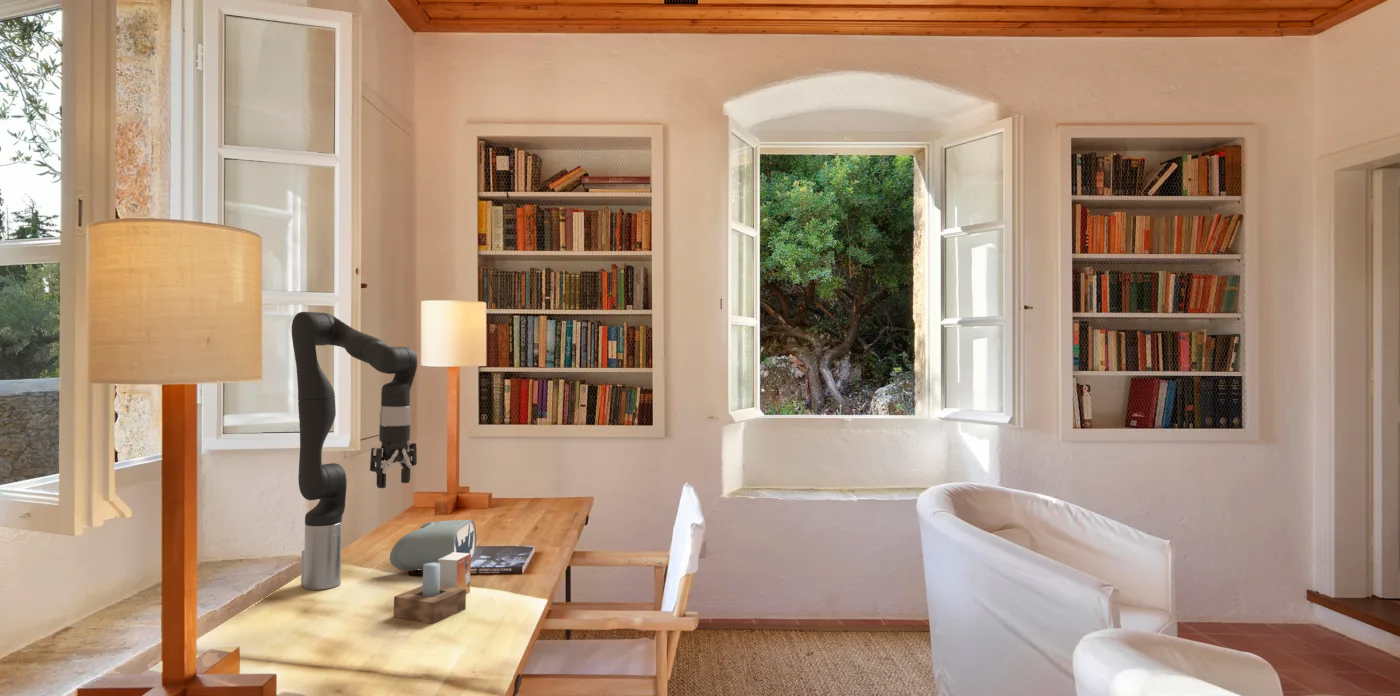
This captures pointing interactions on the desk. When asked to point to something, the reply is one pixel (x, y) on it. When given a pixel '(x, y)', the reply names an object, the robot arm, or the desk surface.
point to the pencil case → (433, 543)
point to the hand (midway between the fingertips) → (393, 485)
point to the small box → (455, 570)
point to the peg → (431, 579)
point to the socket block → (429, 604)
